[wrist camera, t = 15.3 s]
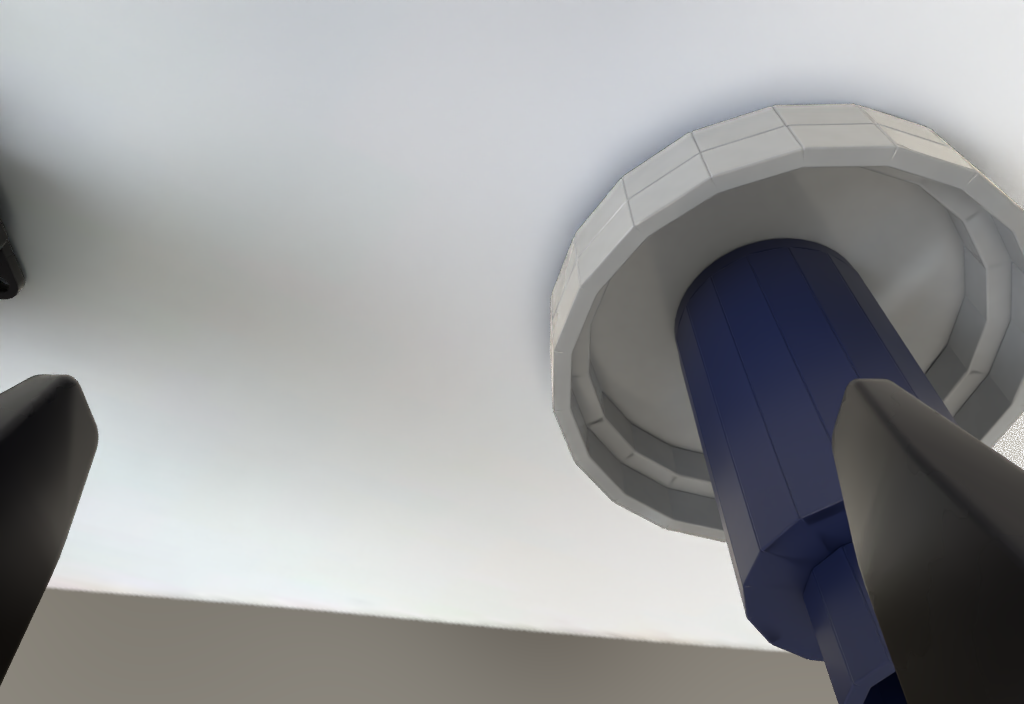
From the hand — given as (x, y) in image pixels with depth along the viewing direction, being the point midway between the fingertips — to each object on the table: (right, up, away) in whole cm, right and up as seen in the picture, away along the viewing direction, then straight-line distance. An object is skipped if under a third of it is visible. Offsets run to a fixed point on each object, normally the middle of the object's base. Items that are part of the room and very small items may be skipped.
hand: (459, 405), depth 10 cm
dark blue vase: (+8, +2, +14) cm, 17 cm away
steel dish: (+8, +2, +15) cm, 17 cm away
